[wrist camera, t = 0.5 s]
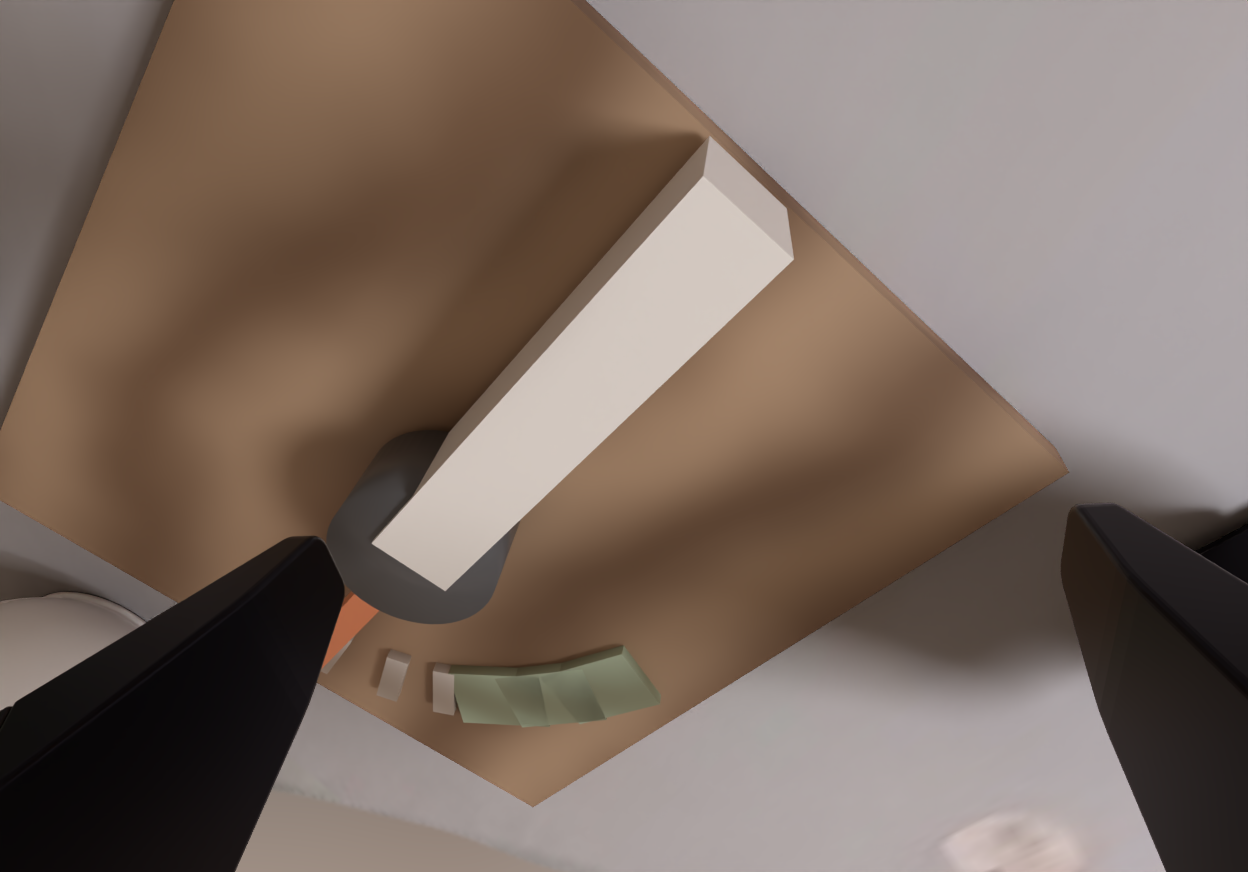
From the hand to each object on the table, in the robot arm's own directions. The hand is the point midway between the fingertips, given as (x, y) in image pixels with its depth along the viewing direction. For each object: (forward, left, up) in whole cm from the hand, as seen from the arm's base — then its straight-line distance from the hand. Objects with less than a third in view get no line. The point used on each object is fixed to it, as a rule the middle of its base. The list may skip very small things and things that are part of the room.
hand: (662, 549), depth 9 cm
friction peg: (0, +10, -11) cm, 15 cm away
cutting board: (0, +11, -13) cm, 17 cm away
